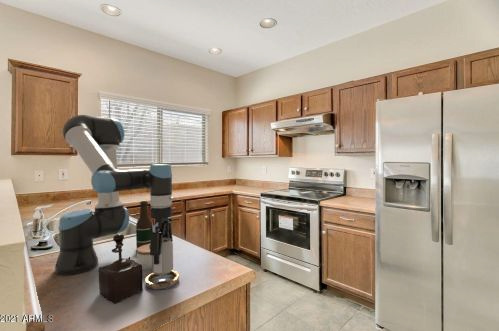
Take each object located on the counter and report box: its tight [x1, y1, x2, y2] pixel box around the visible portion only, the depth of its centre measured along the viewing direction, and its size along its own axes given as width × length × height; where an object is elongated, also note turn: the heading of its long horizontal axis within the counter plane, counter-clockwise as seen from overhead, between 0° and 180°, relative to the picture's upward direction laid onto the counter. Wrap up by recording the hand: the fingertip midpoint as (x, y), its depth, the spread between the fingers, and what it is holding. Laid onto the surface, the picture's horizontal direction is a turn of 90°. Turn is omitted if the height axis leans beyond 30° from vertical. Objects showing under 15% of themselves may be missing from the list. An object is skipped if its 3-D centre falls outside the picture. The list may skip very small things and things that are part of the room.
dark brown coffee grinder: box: [97, 233, 144, 305], centre depth 91 cm, size 16×11×18 cm
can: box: [151, 238, 174, 275], centre depth 97 cm, size 8×8×12 cm
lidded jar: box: [136, 244, 152, 269], centre depth 112 cm, size 11×11×9 cm
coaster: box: [145, 269, 180, 291], centre depth 97 cm, size 12×12×2 cm
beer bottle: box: [135, 200, 153, 250], centre depth 131 cm, size 8×8×24 cm
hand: (162, 267), depth 97 cm, fingers closed on can, 7 cm apart
